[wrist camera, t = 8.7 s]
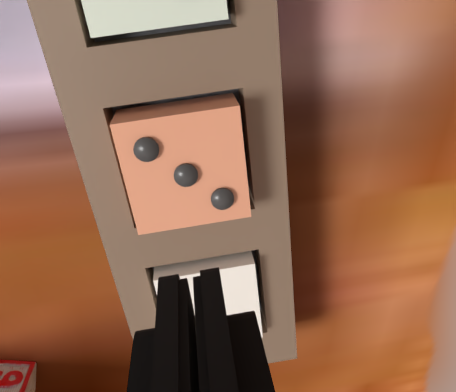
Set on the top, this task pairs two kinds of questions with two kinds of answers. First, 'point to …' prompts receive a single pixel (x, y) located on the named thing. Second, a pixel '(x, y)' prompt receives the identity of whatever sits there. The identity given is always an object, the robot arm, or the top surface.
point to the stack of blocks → (17, 376)
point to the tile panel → (169, 92)
